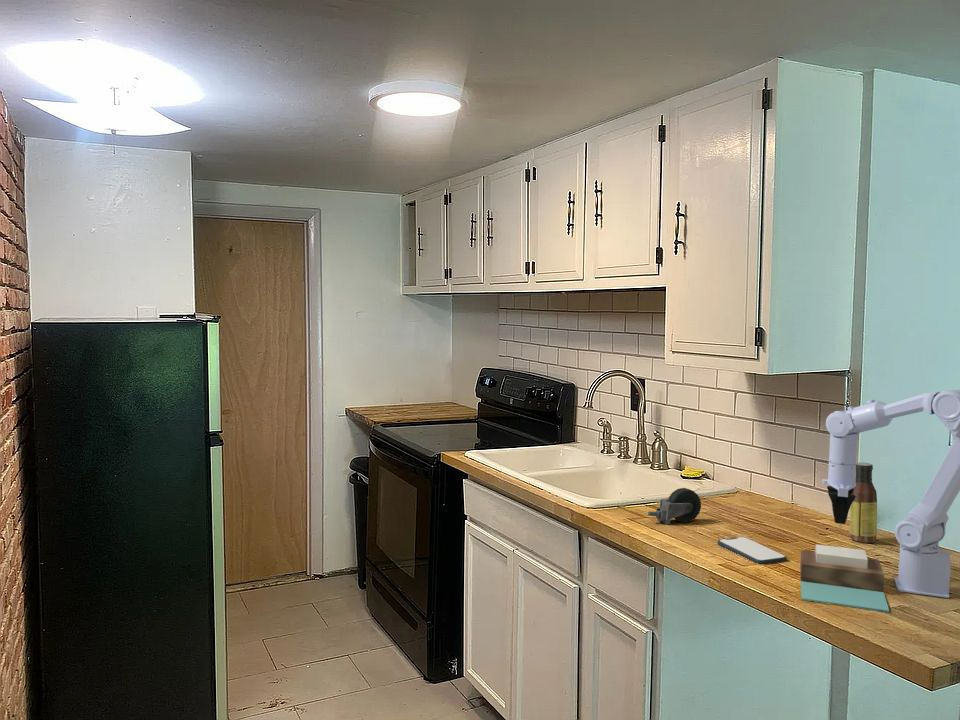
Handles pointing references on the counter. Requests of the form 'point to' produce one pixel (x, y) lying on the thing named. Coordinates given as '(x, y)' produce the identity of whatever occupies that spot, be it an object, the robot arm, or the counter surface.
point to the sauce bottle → (864, 506)
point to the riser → (842, 573)
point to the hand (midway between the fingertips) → (839, 520)
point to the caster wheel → (678, 506)
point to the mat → (844, 596)
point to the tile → (841, 556)
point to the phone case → (752, 550)
